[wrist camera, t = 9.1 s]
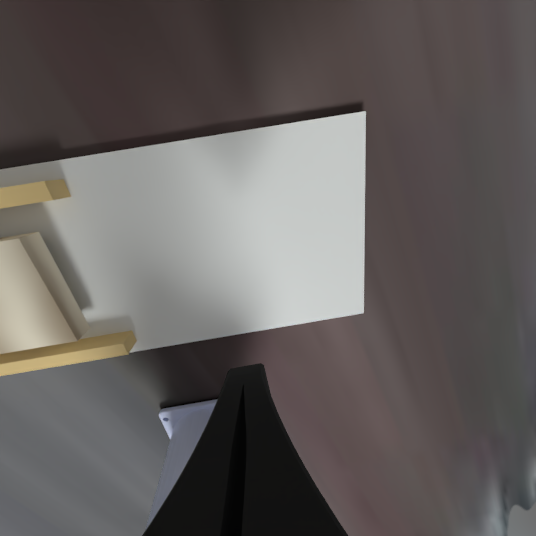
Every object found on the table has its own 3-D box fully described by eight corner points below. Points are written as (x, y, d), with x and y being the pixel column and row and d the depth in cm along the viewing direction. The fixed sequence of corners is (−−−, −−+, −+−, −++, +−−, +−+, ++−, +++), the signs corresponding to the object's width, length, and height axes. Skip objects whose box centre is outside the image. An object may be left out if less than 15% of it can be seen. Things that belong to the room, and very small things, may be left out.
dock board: (361, 309, 20) (372, 324, 18) (-29, 375, 20) (-57, 397, 18) (362, 112, 15) (378, 105, 13) (-179, 199, 14) (-241, 204, 13)
